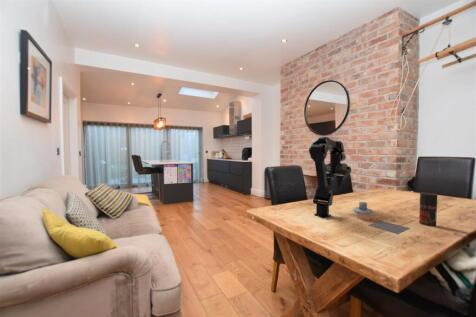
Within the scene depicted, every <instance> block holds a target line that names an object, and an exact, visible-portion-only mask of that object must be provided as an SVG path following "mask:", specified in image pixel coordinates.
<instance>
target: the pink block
mask: <svg viewBox="0 0 476 317" xmlns="http://www.w3.org/2000/svg"><path fill="white" fill-rule="evenodd" d="M354 217H355V219H358V220H362V221H370V220H372V214H361V213H357V212H354Z"/></svg>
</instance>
